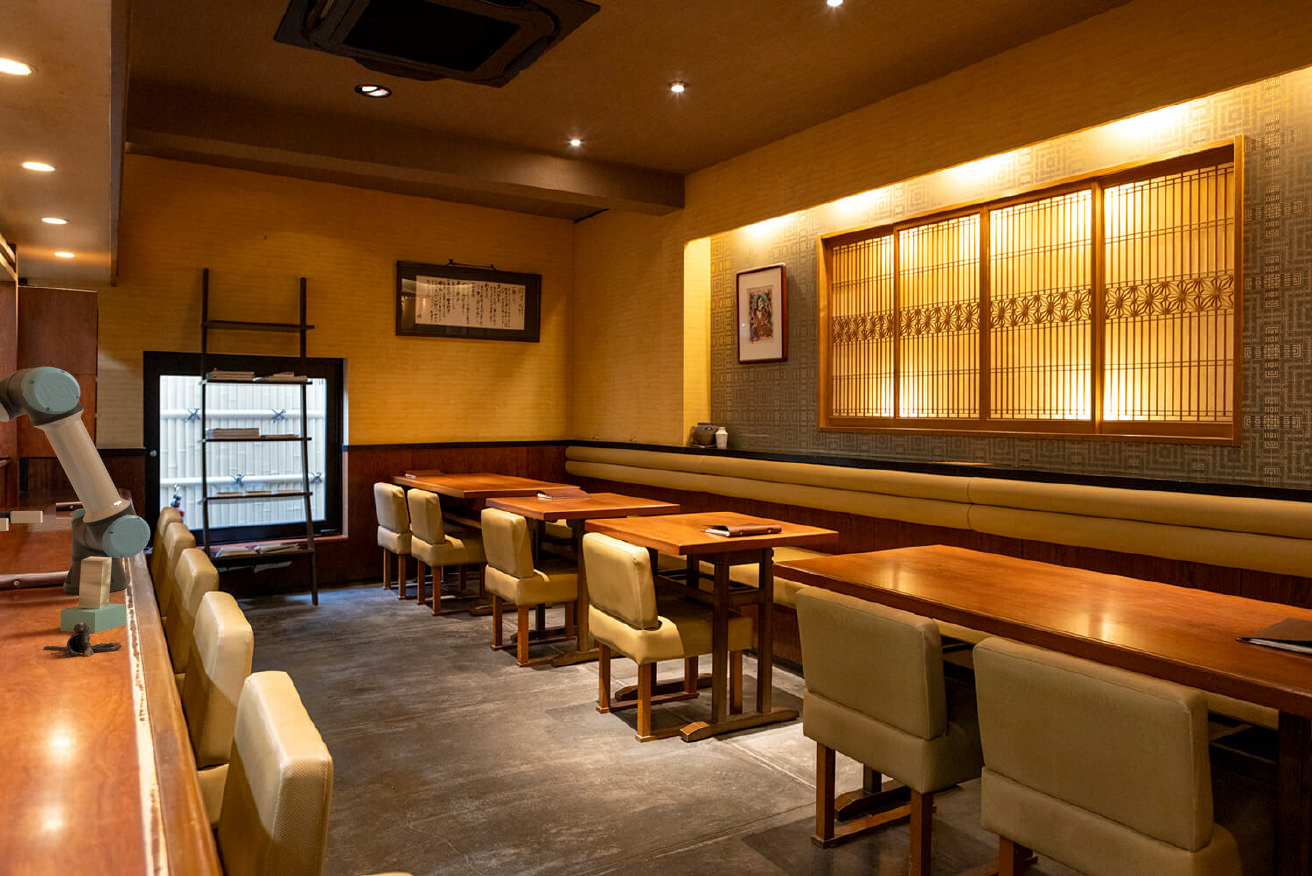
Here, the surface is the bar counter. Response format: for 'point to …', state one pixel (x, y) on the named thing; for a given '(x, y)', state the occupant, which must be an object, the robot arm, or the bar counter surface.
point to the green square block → (94, 617)
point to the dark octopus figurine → (83, 644)
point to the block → (95, 582)
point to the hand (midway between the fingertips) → (25, 520)
